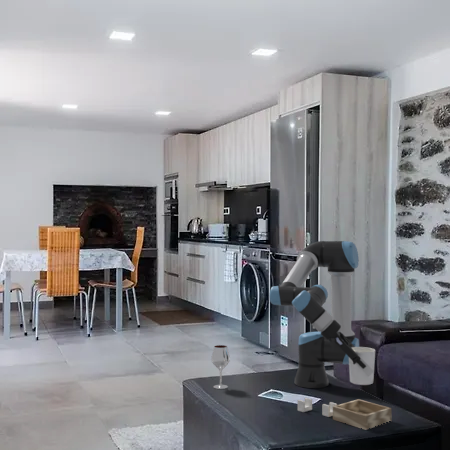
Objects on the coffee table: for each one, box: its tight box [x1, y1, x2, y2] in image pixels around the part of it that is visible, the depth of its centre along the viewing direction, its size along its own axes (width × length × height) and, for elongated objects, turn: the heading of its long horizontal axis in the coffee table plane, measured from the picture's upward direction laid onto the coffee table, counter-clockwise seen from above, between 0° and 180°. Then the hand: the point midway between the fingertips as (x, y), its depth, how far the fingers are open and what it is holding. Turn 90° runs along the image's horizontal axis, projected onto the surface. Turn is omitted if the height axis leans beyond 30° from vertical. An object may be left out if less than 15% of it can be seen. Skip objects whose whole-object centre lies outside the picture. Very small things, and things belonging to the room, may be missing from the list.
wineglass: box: [211, 344, 231, 390], centre depth 271 cm, size 8×8×18 cm
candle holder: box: [348, 346, 376, 386], centre depth 225 cm, size 10×10×12 cm
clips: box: [297, 397, 338, 418], centre depth 234 cm, size 8×13×4 cm, turn 39°
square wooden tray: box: [332, 398, 392, 431], centre depth 225 cm, size 15×15×5 cm
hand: (370, 370), depth 224 cm, fingers closed on candle holder, 9 cm apart
